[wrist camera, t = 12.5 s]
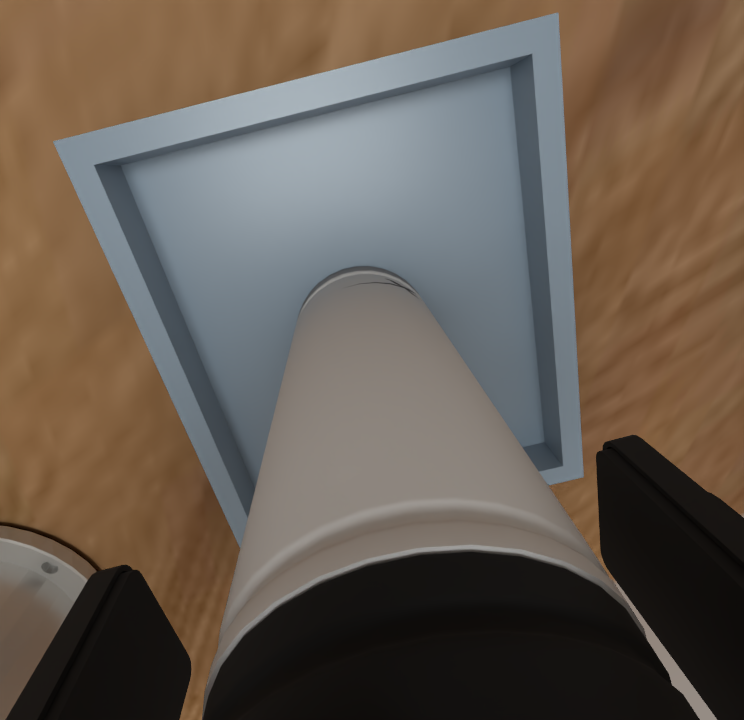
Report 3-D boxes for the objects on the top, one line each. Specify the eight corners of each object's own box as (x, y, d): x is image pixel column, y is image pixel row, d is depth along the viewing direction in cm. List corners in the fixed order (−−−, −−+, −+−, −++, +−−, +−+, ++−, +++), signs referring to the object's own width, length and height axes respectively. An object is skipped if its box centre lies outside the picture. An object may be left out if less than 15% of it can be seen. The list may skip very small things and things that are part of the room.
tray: (557, 444, 26) (583, 477, 23) (253, 516, 26) (244, 556, 24) (524, 36, 18) (558, 12, 16) (94, 145, 19) (52, 141, 16)
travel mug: (387, 232, 20) (972, 919, 2) (449, 353, 23) (959, 1169, 4) (267, 300, 21) (-246, 1286, 2) (338, 410, 23) (356, 1313, 5)
